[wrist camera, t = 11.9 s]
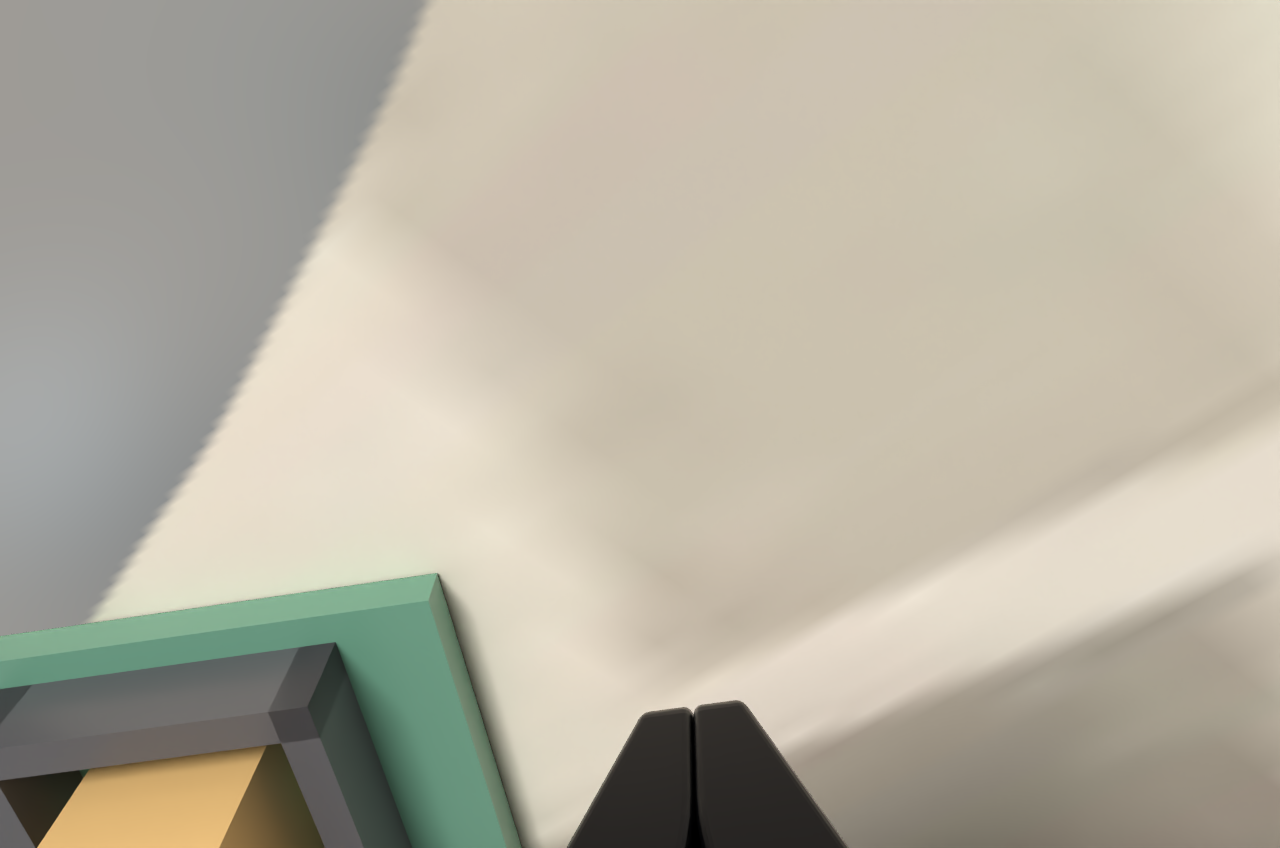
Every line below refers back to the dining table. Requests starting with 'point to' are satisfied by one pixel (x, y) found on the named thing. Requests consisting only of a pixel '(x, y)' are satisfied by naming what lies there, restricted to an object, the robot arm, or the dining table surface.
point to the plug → (189, 804)
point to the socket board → (265, 711)
